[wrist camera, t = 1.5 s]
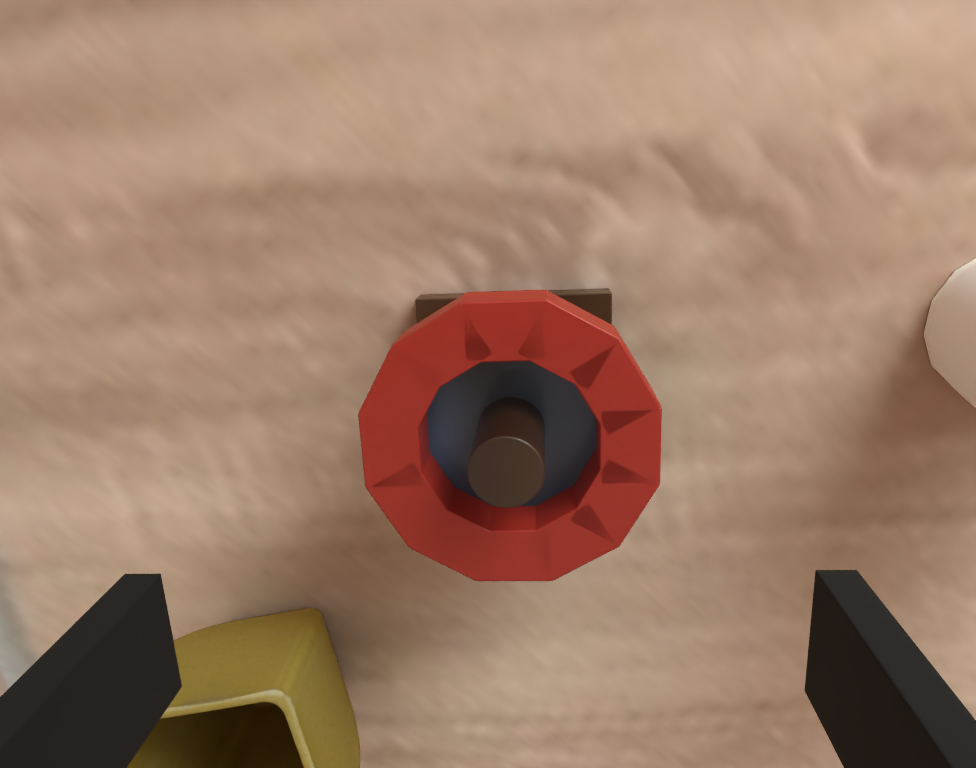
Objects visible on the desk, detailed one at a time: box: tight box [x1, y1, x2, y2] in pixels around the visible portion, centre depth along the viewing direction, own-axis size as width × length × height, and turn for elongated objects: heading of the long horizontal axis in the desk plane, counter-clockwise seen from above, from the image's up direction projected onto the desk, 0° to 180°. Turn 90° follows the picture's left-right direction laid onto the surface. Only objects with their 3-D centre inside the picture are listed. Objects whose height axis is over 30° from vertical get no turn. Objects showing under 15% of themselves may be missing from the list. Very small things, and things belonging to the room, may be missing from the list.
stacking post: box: [416, 288, 612, 508], centre depth 27 cm, size 8×8×10 cm
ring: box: [358, 290, 662, 581], centre depth 25 cm, size 10×10×2 cm
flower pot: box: [127, 608, 360, 768], centre depth 33 cm, size 9×9×9 cm
